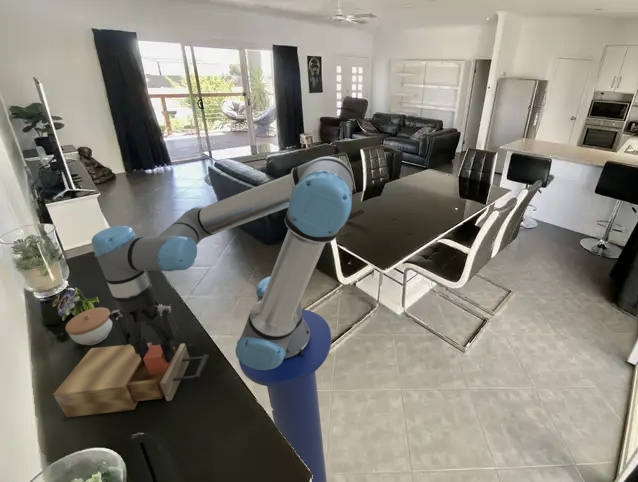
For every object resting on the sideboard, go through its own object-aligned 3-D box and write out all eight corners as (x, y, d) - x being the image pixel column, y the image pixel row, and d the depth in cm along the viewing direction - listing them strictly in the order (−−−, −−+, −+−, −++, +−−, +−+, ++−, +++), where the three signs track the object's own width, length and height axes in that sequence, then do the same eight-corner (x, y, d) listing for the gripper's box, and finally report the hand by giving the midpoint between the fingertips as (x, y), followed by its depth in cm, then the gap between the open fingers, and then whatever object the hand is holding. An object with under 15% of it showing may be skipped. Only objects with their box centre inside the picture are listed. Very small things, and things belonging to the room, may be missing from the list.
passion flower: (72, 330, 113) (47, 304, 111) (106, 307, 120) (83, 282, 118) (70, 329, 105) (43, 301, 103) (107, 305, 112) (82, 279, 110)
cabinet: (159, 363, 94) (151, 342, 91) (134, 409, 82) (123, 386, 79) (101, 369, 92) (91, 348, 89) (66, 417, 80) (52, 394, 77)
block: (173, 359, 88) (167, 343, 86) (167, 373, 85) (160, 356, 82) (157, 361, 88) (150, 345, 85) (149, 375, 84) (142, 358, 82)
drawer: (214, 357, 95) (209, 340, 93) (199, 397, 84) (193, 379, 81) (137, 365, 93) (130, 348, 90) (110, 407, 82) (101, 389, 79)
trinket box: (116, 341, 102) (106, 318, 98) (72, 357, 96) (60, 333, 93) (117, 320, 110) (108, 298, 106) (77, 334, 104) (65, 311, 101)
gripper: (179, 276, 80) (200, 344, 90) (101, 282, 78) (130, 351, 87) (165, 296, 73) (189, 367, 83) (79, 303, 71) (113, 375, 81)
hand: (159, 359), depth 85 cm, fingers open, 5 cm apart
